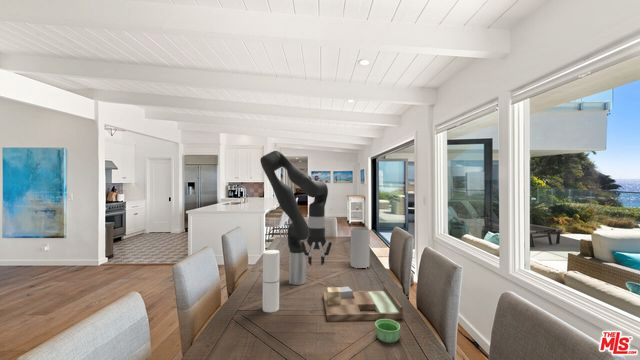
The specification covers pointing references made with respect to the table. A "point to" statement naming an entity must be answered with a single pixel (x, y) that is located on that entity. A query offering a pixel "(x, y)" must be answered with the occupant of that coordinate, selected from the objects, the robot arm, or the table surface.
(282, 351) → the table surface
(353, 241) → the cylinder vase
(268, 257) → the cylindrical container
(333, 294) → the maple cube
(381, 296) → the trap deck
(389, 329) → the ramekin
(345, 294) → the trapped grey cube
